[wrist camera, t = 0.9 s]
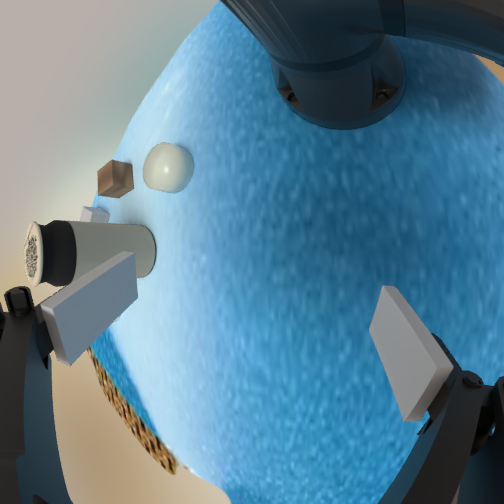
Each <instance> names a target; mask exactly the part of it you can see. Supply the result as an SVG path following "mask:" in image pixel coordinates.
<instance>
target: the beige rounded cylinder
mask: <svg viewBox="0 0 504 504" xmlns="http://www.w3.org/2000/svg"><path fill="white" fill-rule="evenodd" d="M193 171H194V161H193V157H192V155H191V154H190V153H189V152H188V151H187V150H185V149H182V148H180V147H177V146H175V145H172V144H169V143H166V142H163V143H160V144H158V145H156V146H155V147H153V148H152V150H151V151H150V152H149V153H148V155H147V157H146V159H145V162H144V166H143V179H144V182H145V184H146V185H147V187H149V188H150V189H153V190H158V191H163V192H168V193H178V192H180V191H182V190H183V189H184V188H185V187H186V186H187V185H188V183H189V182H190V180H191V178H192V175H193Z"/></svg>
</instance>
